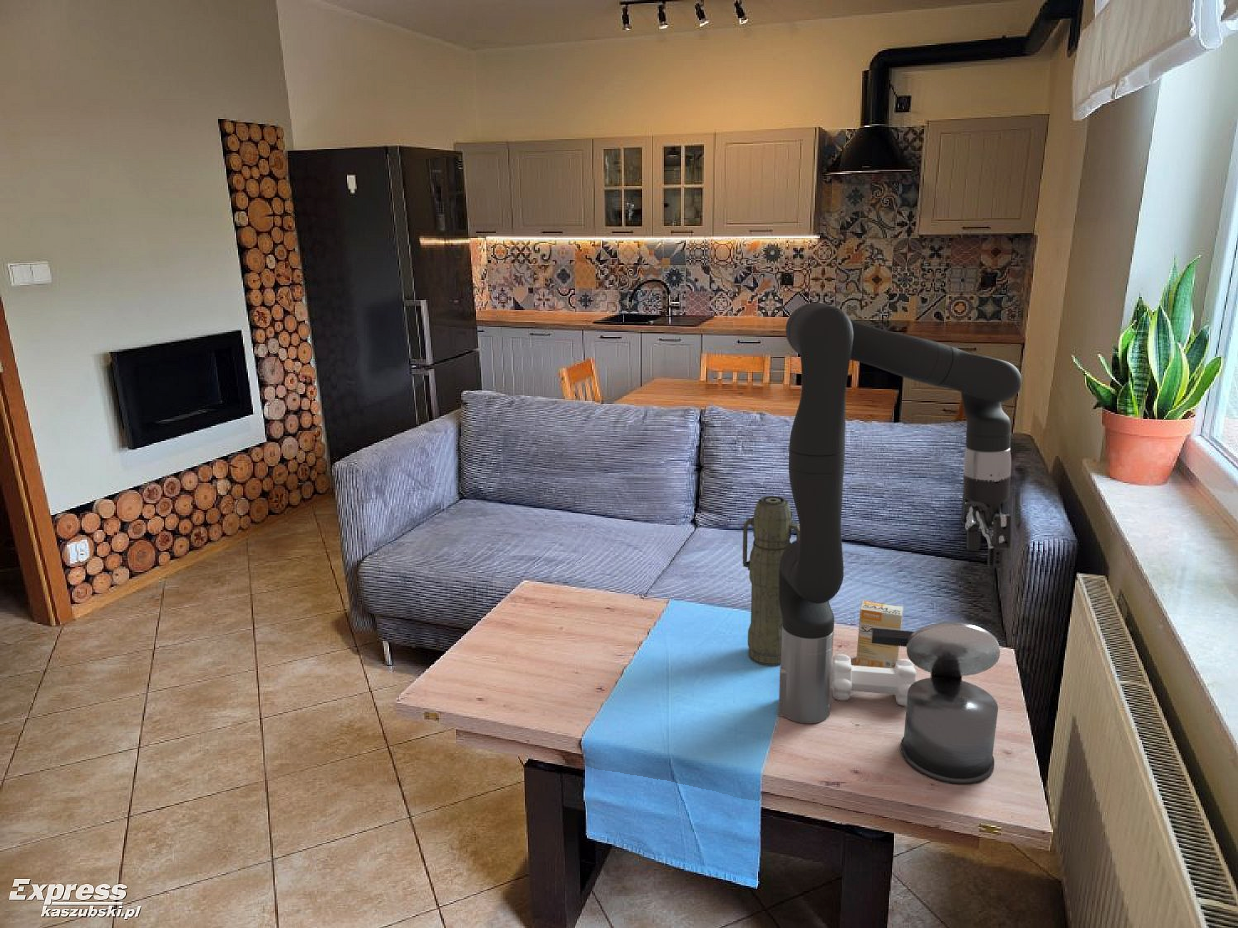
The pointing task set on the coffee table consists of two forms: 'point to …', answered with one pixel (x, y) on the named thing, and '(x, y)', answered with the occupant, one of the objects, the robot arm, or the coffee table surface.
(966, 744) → the cooker pot
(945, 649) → the cooker lid
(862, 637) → the supplement box
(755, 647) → the thermos
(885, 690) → the white bone
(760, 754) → the coffee table surface
